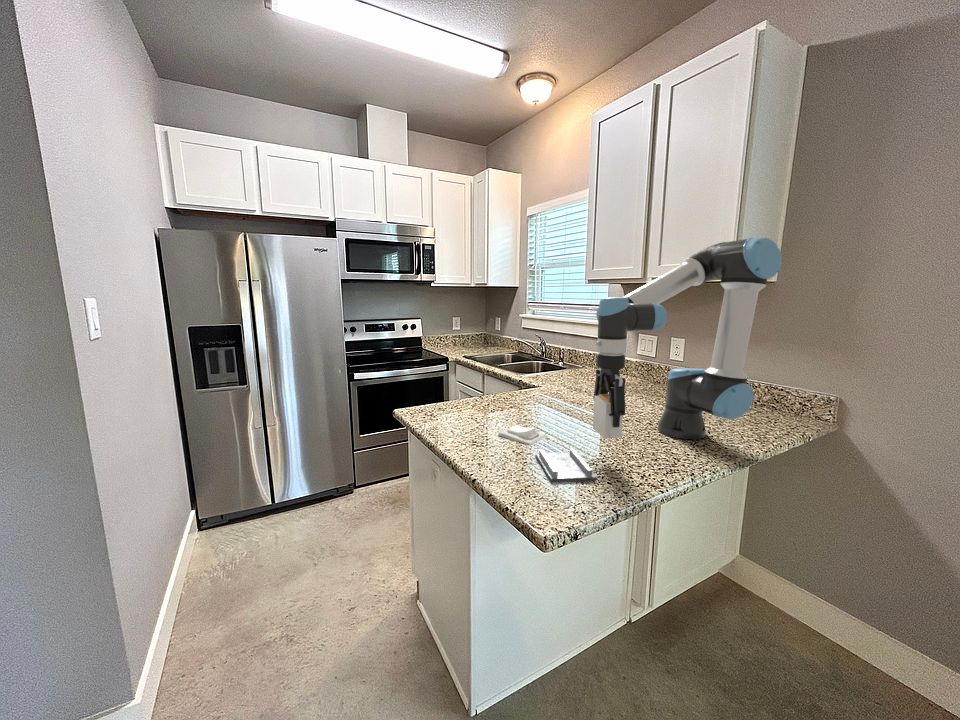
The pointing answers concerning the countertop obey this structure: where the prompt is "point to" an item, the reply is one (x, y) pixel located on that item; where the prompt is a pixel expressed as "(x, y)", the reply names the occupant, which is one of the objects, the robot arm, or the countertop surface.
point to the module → (603, 415)
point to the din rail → (565, 467)
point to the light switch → (522, 434)
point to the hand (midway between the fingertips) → (606, 431)
